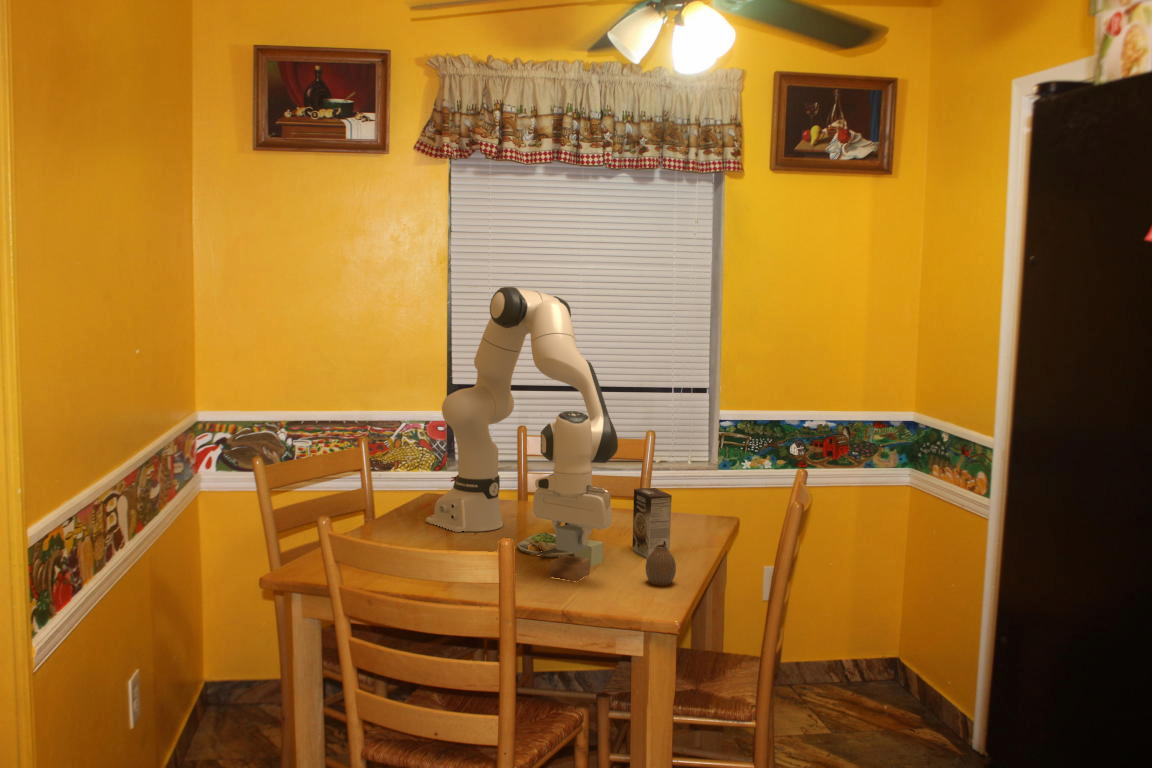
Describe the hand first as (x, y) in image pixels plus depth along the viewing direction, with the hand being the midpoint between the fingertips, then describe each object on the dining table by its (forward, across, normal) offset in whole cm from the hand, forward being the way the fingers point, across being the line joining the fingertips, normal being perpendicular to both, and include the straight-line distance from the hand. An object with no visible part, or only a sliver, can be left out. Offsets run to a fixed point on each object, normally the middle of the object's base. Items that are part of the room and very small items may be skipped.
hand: (571, 541), depth 216 cm
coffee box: (+8, -5, -28) cm, 29 cm away
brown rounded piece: (+8, -19, -9) cm, 22 cm away
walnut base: (+8, 0, 0) cm, 8 cm away
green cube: (+8, +3, -12) cm, 15 cm away
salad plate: (+9, +17, -17) cm, 26 cm away
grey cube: (+2, 0, 0) cm, 2 cm away
